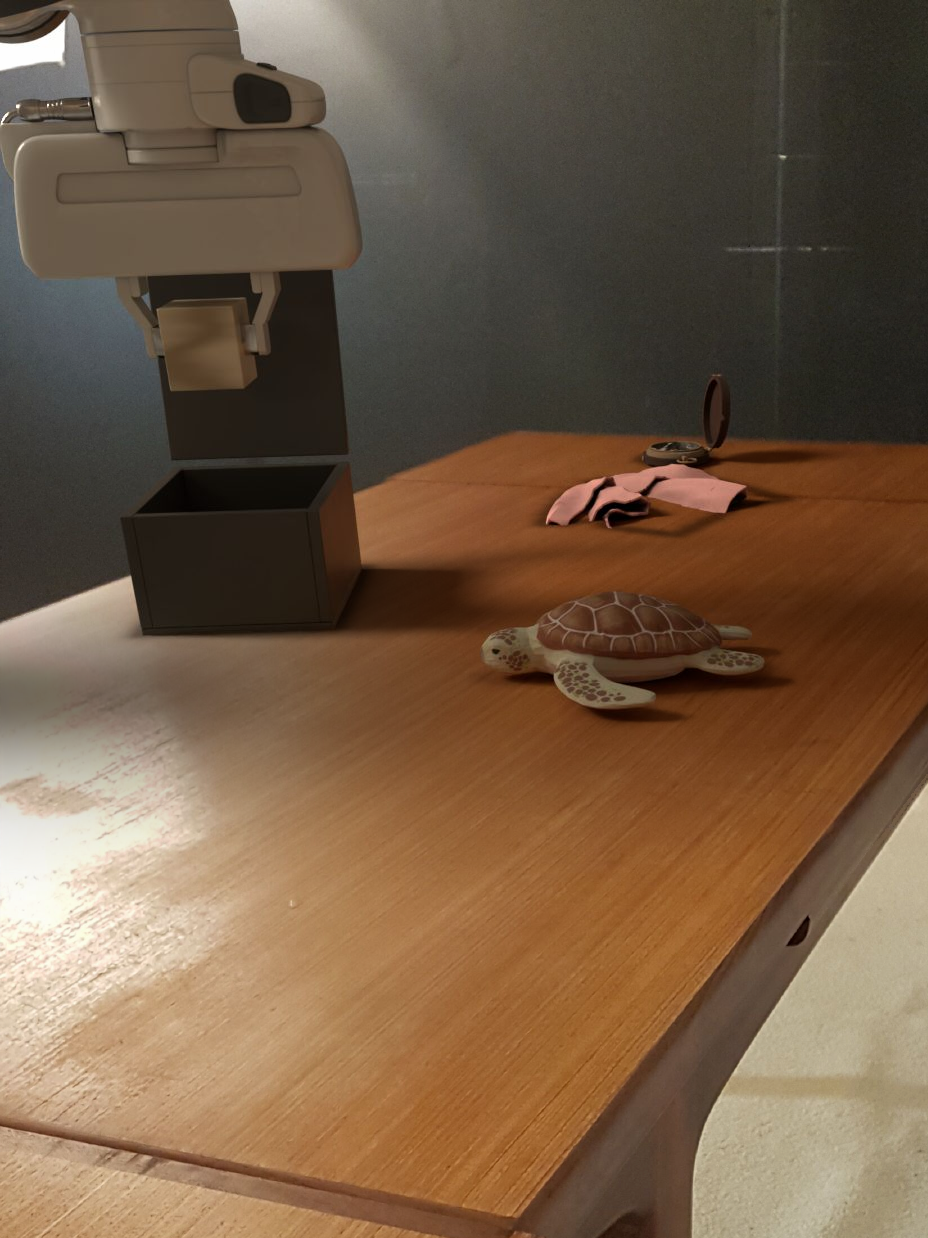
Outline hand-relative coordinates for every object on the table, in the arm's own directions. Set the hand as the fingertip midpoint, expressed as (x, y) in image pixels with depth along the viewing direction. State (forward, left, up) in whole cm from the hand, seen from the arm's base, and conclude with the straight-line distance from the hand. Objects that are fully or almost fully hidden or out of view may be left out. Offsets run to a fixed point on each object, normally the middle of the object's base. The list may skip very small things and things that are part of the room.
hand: (211, 355), depth 102 cm
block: (0, 0, -2) cm, 2 cm away
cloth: (+28, +29, -17) cm, 44 cm away
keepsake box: (0, +3, -16) cm, 17 cm away
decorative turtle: (+25, -16, -17) cm, 34 cm away
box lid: (0, +12, 0) cm, 12 cm away
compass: (+32, +47, -17) cm, 59 cm away
